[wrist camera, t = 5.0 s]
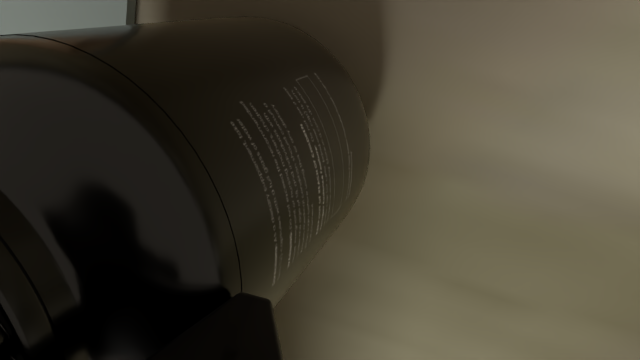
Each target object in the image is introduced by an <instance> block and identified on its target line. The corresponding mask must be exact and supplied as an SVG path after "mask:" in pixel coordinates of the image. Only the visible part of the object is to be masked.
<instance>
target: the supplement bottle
mask: <svg viewBox="0 0 640 360" xmlns="http://www.w3.org/2000/svg"><path fill="white" fill-rule="evenodd" d="M369 154H370V136H369V128H368V122H367V117H366V113H365V109H364V106H363V103H362V100H361V98H360V96H359V93H358V91H357V89H356V87H355V85H354V83H353V81H352V80H351V78H350V76H349V75H348V73H347V72H346V70H345V69H344V67H343V66H342V65H341V64H340V63H339V61H338V60H337V59H336V58H335V57H334V56H333V55H332V54H331V53H330V52H329V51H328V50H327V49H326V48H325V47H324V46H323V45H321V44H320V43H319V42H318V41H317V40H315V39H314V38H312V37H311V36H309V35H308V34H306V33H305V32H303V31H301V30H299V29H297V28H295V27H293V26H290V25H288V24H285V23H282V22H279V21H275V20H271V19H265V18H258V17H226V18H211V19H198V20H185V21H173V22H160V23H147V24H134V25H121V26H108V27H95V28H82V29H69V30H56V31H44V32H31V33H18V34H7V35H0V360H146V359H147V358H148V357H150V356H151V355H152V354H154V353H155V352H157V351H158V350H159V349H161V348H162V347H164V346H165V345H166V344H168V343H169V342H171V341H172V340H173V339H175V338H176V337H178V336H179V335H180V334H182V333H183V332H185V331H186V330H187V329H189V328H190V327H192V326H193V325H194V324H196V323H197V322H199V321H200V320H201V319H203V318H204V317H206V316H207V315H208V314H210V313H211V312H213V311H214V310H215V309H217V308H218V307H219V306H221V305H222V304H224V303H225V302H226V301H228V300H229V299H231V298H232V297H233V296H235V295H236V294H238V293H241V292H244V293H248V294H252V295H256V296H259V297H263V298H267V299H269V300H270V301H271V303H272V305H273V309H274V308H275V306H276V305H277V304H278V303H279V301H280V300H281V299H282V297H283V296H284V295H285V294H286V292H287V291H288V290H289V289H290V287H291V286H292V285H293V283H294V282H295V281H296V280H297V278H298V277H299V276H300V275H301V273H302V272H303V271H304V269H305V268H306V267H307V266H308V264H309V263H310V262H311V261H312V259H313V258H314V257H315V255H316V254H317V253H318V252H319V250H320V249H321V248H322V247H323V245H324V244H325V243H326V242H327V240H328V239H329V238H330V236H331V235H332V234H333V233H334V231H335V230H336V229H337V227H338V226H339V225H340V223H341V222H342V221H343V219H344V218H345V216H346V215H347V214H348V212H349V211H350V209H351V208H352V206H353V205H354V203H355V201H356V199H357V197H358V195H359V193H360V191H361V189H362V186H363V184H364V181H365V177H366V174H367V169H368V163H369Z"/></svg>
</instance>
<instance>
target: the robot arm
mask: <svg viewBox="0 0 640 360" xmlns="http://www.w3.org/2000/svg"><path fill="white" fill-rule="evenodd" d="M146 360H283V356H282V351H281V346H280V341H279V336H278V331H277V326H276V321H275V316H274V311H273V305H272V303H271V301H270V300H269V299H267V298H263V297H259V296H256V295H252V294H248V293H244V292H241V293H238V294H236V295H235V296H233V297H232V298H231V299H229V300H228V301H226V302H225V303H224V304H222V305H221V306H219V307H218V308H217V309H215V310H214V311H213V312H211V313H210V314H208V315H207V316H206V317H204V318H203V319H201V320H200V321H199V322H197V323H196V324H194V325H193V326H192V327H190V328H189V329H187V330H186V331H185V332H183V333H182V334H180V335H179V336H178V337H176V338H175V339H173V340H172V341H171V342H169V343H168V344H166V345H165V346H164V347H162V348H161V349H159V350H158V351H157V352H155V353H154V354H152V355H151V356H150V357H148V358H147V359H146Z"/></svg>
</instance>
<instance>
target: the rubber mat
mask: <svg viewBox="0 0 640 360" xmlns="http://www.w3.org/2000/svg"><path fill="white" fill-rule="evenodd" d="M135 9H136V0H0V35H7V34H18V33H31V32H44V31H56V30H69V29H82V28H95V27H108V26H121V25H134V24H135Z"/></svg>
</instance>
